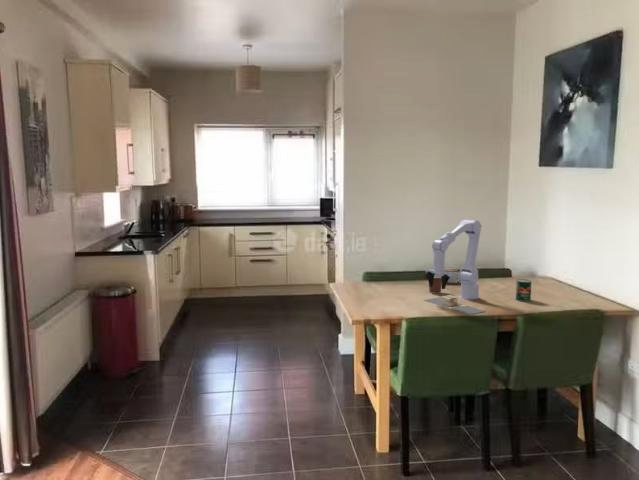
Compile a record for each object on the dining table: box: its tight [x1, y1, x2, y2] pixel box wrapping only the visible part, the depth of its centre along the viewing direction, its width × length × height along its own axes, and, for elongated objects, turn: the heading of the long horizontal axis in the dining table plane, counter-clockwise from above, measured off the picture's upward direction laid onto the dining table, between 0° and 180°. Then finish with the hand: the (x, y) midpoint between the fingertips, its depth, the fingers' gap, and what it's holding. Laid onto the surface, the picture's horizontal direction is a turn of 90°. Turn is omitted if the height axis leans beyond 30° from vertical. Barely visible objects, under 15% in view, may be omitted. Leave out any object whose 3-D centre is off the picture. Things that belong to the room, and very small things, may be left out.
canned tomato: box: [515, 278, 533, 302], centre depth 297 cm, size 8×8×11 cm
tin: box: [443, 269, 461, 284], centre depth 340 cm, size 15×3×8 cm, turn 92°
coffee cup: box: [428, 273, 443, 295], centre depth 314 cm, size 9×9×12 cm
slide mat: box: [423, 296, 487, 316], centre depth 284 cm, size 12×34×1 cm, turn 30°
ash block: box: [440, 294, 458, 306], centre depth 286 cm, size 6×6×4 cm
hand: (437, 287), depth 286 cm, fingers open, 7 cm apart
